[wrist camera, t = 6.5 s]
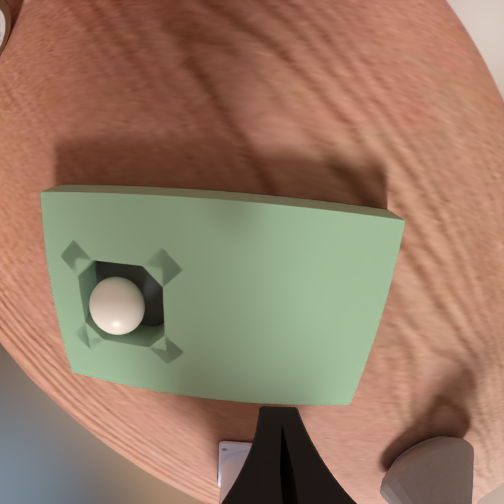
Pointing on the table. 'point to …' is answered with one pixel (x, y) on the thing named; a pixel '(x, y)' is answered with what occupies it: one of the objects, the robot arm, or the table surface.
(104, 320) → the ball
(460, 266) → the table surface
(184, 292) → the plate
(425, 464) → the coffee pot
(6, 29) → the tin
